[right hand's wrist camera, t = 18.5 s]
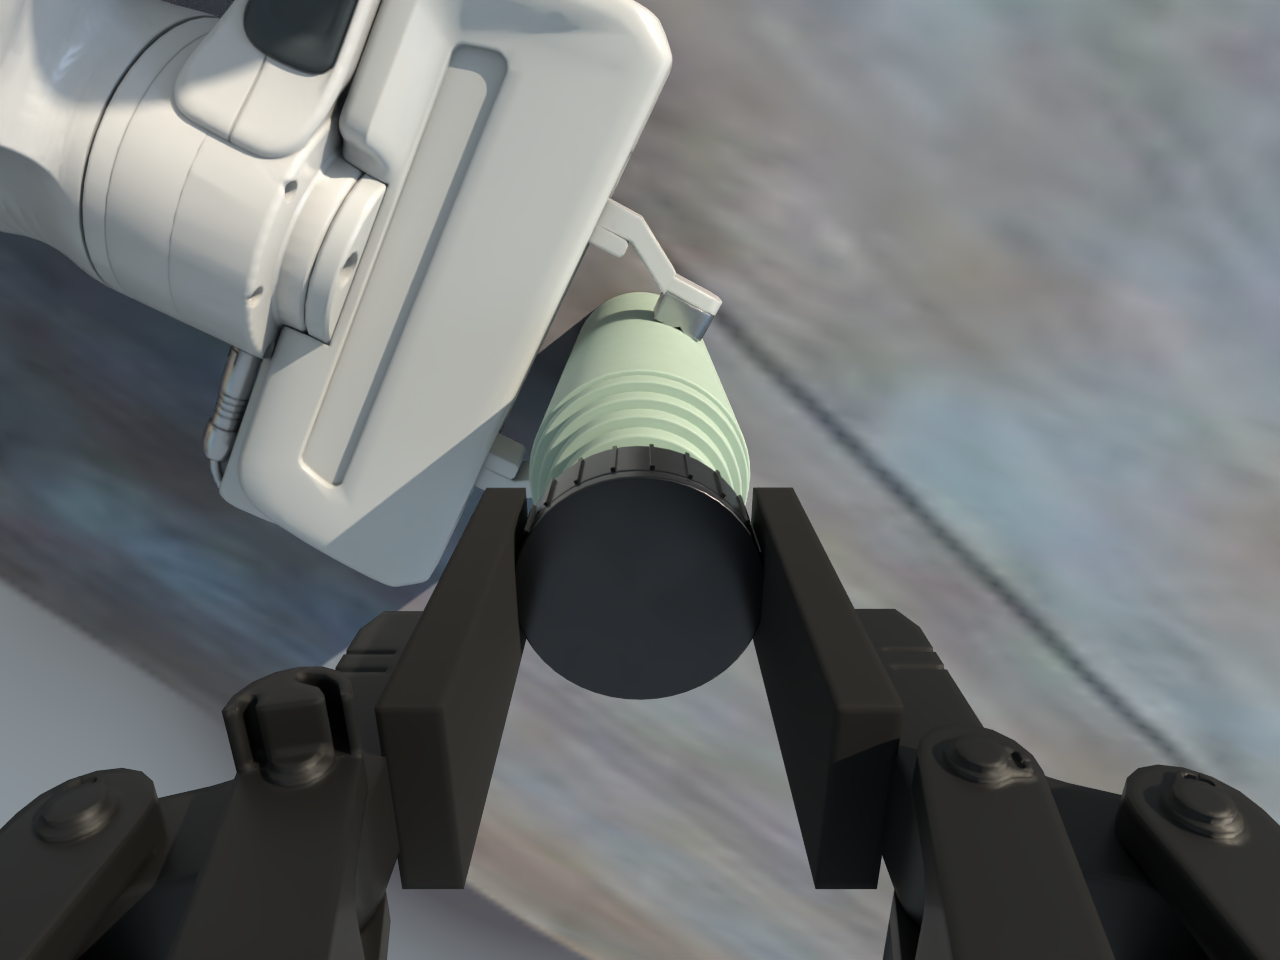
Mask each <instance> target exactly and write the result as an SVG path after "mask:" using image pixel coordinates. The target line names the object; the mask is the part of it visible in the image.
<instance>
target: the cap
mask: <svg viewBox="0 0 1280 960" xmlns="http://www.w3.org/2000/svg"><path fill="white" fill-rule="evenodd" d="M750 523H751V522H750V519H749V516H748V513H747V510H746V507H745V504H744V501H743V498H742V496H741V495H738V496H737V494H736V493H735V492H734V490H733V489H732V488H731V486H730V485H729V484H728V483H727V482H726V481H725V480H724V479H723V478H722V477H721V474H720V472H719V471H718V470H716V471H714V470H712V469H711V468H710V467H708V466H707V465H705V464H703V463H702V462H700V461H698V460H696V459H694V458H692V457H690V454H689V453H687V452H685V454H683V453H680V452H676V451H673V450H670V449H665V448H659V447H654V444H649V446H629V447H620V448H617V446H613V447H612V449H610V450H606V451H603V452H600V453H597V454H594V455H591V456H589V457H587V458H585V459H583V458H582V457H581V458H579V459H578V462H577V463H576V464H574V465H573V466H571V467H570V468H568V469H567V470H565V471H564V472H563V473H562V474H561V475H559V476H558V477H557V478H556V479H555V478H552V479H551V480H550V483H549V486H548V488H547V489H546V490H545V491H544V493H543V494H542V496H541V498H540V499H539V501H538V502H537V504H536V506H535V505H532V507H531V510H530V513H529V515H528V518H527V521H526V524H525V527H524V530H523V534H524V535H525V536H524V539H523V542H522V545H521V548H520V551H519V554H518V557H517V561H516V564H515V582H516V596H517V611H518V621H519V624H520V626H521V628H522V630H523V633H524V635H525V637H526V638H527V640H528V642H529V643H530V645H531V646H532V648H533V649H534V650H535V652H536V653H537V654H538V655H539V656H540V657H541V659H542V660H543V661H544V662H545V663H546V664H547V665H549V666H550V667H551V668H552V669H553V670H554V671H555V672H557V673H558V674H560V675H561V676H563V677H564V678H566V679H567V680H569V681H571V682H572V683H574V684H576V685H578V686H580V687H582V688H585V689H587V690H590V691H592V692H595V693H599V694H602V695H606V696H610V697H616V698H623V699H639V700H643V699H657V698H663V697H668V696H673V695H677V694H680V693H684V692H687V691H689V690H692V689H694V688H696V687H699V686H701V685H703V684H705V683H707V682H708V681H710V680H712V679H714V678H715V677H717V676H718V675H719V674H721V673H722V672H723V671H725V670H726V669H727V668H728V667H729V666H730V665H732V664H733V663H734V662H735V661H736V660H737V659H738V658H739V656H740V655H741V654H742V653H743V652H744V650H745V649H746V648H747V646H748V645H749V643H750V642H751V640H752V638H753V637H754V635H755V633H756V631H757V628H758V626H759V624H760V622H761V612H762V597H763V582H764V563H763V560H762V557H761V549H760V546H759V543H758V540H757V537H756V534H755V531H754V528H753V525H751V524H750Z"/></svg>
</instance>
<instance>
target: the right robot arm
mask: <svg viewBox="0 0 1280 960" xmlns="http://www.w3.org/2000/svg"><path fill="white" fill-rule="evenodd" d="M527 518H528V515H527V498H526V488H486V490H485V491H484V493H483V495H482V497H481V499H480V501H479V503H478V505H477V507H476V509H475V511H474V513H473V515H472V517H471V519H470V521H469V523H468V525H467V527H466V529H465V531H464V533H463V535H462V537H461V539H460V540H459V542H458V544H457V546H456V548H455V550H454V552H453V554H452V556H451V558H450V560H449V562H448V564H447V566H446V568H445V570H444V572H443V574H442V576H441V578H440V580H439V582H438V584H437V586H436V588H435V590H434V591H433V593H432V595H431V597H430V599H429V601H428V603H427V605H426V607H425V609H424V611H384V612H383V613H381V614H380V615H379V616H377V617H376V618H375V619H373V620H372V621H371V622H369V623H368V624H366V625H365V626H364V627H362V628H361V629H360V630H359V631H358V633H357V635H356V636H355V638H354V639H353V641H352V643H351V644H350V646H349V647H348V649H347V653H346V655H343V657H342V658H341V660H340V661H339V663H338V665H337V666H336V670H333V669H330V668H326V667H297V668H293V669H288V670H284V671H279V672H275V673H273V674H271V675H268V676H266V677H264V678H261V679H259V680H257V681H254V682H252V683H251V684H249V685H248V686H246V687H245V688H244V689H242V690H241V691H239V692H238V693H237V694H235V695H234V696H233V697H232V698H231V700H230V701H229V702H228V703H227V705H226V706H225V707H224V709H223V710H222V714H223V718H224V722H225V726H226V730H227V734H228V738H229V742H230V746H231V750H232V755H233V759H234V763H235V767H236V771H237V773H236V776H235V778H234V779H233V780H230V781H227V782H224V783H220V784H217V785H213V786H210V787H205V788H201V789H197V790H192V791H188V792H184V793H179V794H175V795H170V796H166V797H161V798H158V797H157V794H156V790H155V787H154V784H153V781H152V780H151V779H150V778H149V777H147V776H146V775H145V774H144V773H143V772H142V771H136V770H131V769H125V768H118V769H109V770H100V771H95V772H92V773H89V774H86V775H83V776H79V777H76V778H73V779H70V780H68V781H66V782H64V783H62V784H60V785H58V786H56V787H54V788H52V789H50V790H49V791H47V792H45V793H43V794H41V795H39V796H38V797H37V798H36V799H34V800H33V801H32V802H30V803H29V804H28V805H27V806H25V807H24V808H23V809H21V810H20V811H19V812H18V813H16V814H15V815H14V816H13V817H12V818H11V819H10V820H9V821H8V822H7V823H6V824H5V825H4V826H3V827H2V828H1V829H0V960H387V952H388V942H389V931H390V914H389V907H388V901H387V895H386V887H387V885H388V882H389V879H390V876H391V874H392V871H393V868H394V865H395V863H396V860H397V858H398V864H399V870H400V877H401V883H402V889H464V885H465V881H466V877H467V873H468V869H469V865H470V861H471V857H472V853H473V849H474V845H475V841H476V837H477V833H478V829H479V825H480V821H481V817H482V813H483V809H484V805H485V801H486V797H487V793H488V789H489V785H490V781H491V777H492V773H493V769H494V765H495V761H496V757H497V753H498V749H499V745H500V741H501V737H502V733H503V729H504V725H505V721H506V717H507V713H508V709H509V705H510V701H511V697H512V693H513V690H514V686H515V682H516V678H517V674H518V670H519V666H520V662H521V658H522V654H523V650H524V646H525V642H526V637H525V635H524V633H523V630H522V628H521V626H520V624H519V621H518V611H517V596H516V582H515V564H516V561H517V557H518V554H519V551H520V548H521V545H522V542H523V539H524V536H525V535H524V534H523V530H524V527H525V524H526V521H527ZM751 525H753V528H754V531H755V534H756V537H757V540H758V543H759V546H760V549H761V557H762V560H763V563H764V582H763V597H762V612H761V622H760V624H759V626H758V628H757V631H756V633H755V635H754V637H753V641H754V645H755V649H756V653H757V657H758V661H759V665H760V669H761V673H762V677H763V681H764V685H765V689H766V693H767V697H768V701H769V705H770V709H771V713H772V717H773V721H774V725H775V729H776V733H777V737H778V741H779V745H780V749H781V753H782V757H783V761H784V765H785V769H786V773H787V777H788V781H789V785H790V789H791V793H792V797H793V801H794V805H795V809H796V813H797V817H798V821H799V825H800V829H801V833H802V837H803V841H804V845H805V849H806V853H807V857H808V861H809V865H810V869H811V873H812V877H813V881H814V885H815V889H877V884H878V878H879V871H880V865H881V858H882V856H883V859H884V861H885V864H886V867H887V870H888V872H889V875H890V878H891V881H892V883H893V886H894V895H893V901H892V907H891V913H890V919H889V925H888V931H887V937H886V943H885V949H884V956H883V960H1280V825H1279V824H1277V823H1276V822H1275V821H1274V820H1273V819H1272V818H1271V817H1270V816H1269V815H1268V814H1267V813H1266V812H1265V811H1264V810H1263V809H1262V808H1261V807H1259V806H1258V805H1257V804H1255V803H1254V802H1253V801H1251V800H1250V799H1249V798H1248V797H1246V796H1245V795H1244V794H1242V793H1241V792H1240V791H1238V790H1236V789H1234V788H1232V787H1230V786H1228V785H1227V784H1225V783H1223V782H1221V781H1219V780H1217V779H1215V778H1213V777H1211V776H1208V775H1205V774H1202V773H1198V772H1196V771H1192V770H1189V769H1186V768H1182V767H1174V766H1165V765H1153V766H1148V767H1142V768H1138V769H1137V770H1135V771H1134V772H1133V773H1132V774H1131V775H1130V776H1129V777H1128V778H1127V780H1126V783H1125V786H1124V790H1123V793H1122V795H1119V794H1115V793H1110V792H1106V791H1101V790H1097V789H1092V788H1088V787H1084V786H1079V785H1075V784H1070V783H1066V782H1063V781H1060V780H1056V779H1053V778H1049V777H1047V776H1045V775H1044V772H1043V770H1042V769H1041V767H1040V766H1039V764H1038V763H1037V761H1036V760H1035V758H1034V757H1033V755H1032V754H1031V753H1029V752H1028V751H1027V750H1026V749H1024V748H1023V747H1022V746H1021V745H1019V744H1018V743H1017V742H1016V741H1014V740H1012V739H1010V738H1008V737H1006V736H1004V735H1002V734H1000V733H998V732H996V731H994V730H991V729H987V728H984V727H983V726H982V724H981V723H980V721H979V719H978V718H977V716H976V715H975V713H974V712H973V710H972V708H971V707H970V705H969V704H968V702H967V701H966V699H965V697H964V696H963V694H962V693H961V691H960V690H959V688H958V686H957V685H956V683H955V682H954V680H953V679H952V677H951V675H950V674H949V672H948V671H947V670H944V664H943V663H942V661H941V660H940V658H939V657H938V655H937V653H936V652H933V647H932V646H931V644H930V643H929V641H928V639H927V638H926V636H925V635H924V633H923V632H922V630H921V628H920V627H919V626H918V625H916V624H915V623H913V622H912V621H911V620H909V619H908V618H907V617H905V616H904V615H902V614H901V613H900V612H898V611H897V610H896V609H854V607H853V605H852V603H851V601H850V599H849V597H848V595H847V593H846V591H845V589H844V587H843V585H842V584H841V582H840V580H839V578H838V576H837V574H836V572H835V570H834V568H833V566H832V564H831V562H830V560H829V558H828V556H827V554H826V552H825V550H824V548H823V546H822V544H821V542H820V540H819V538H818V536H817V534H816V532H815V531H814V529H813V527H812V525H811V523H810V521H809V519H808V517H807V515H806V513H805V511H804V509H803V507H802V505H801V503H800V501H799V499H798V497H797V495H796V493H795V491H794V489H793V488H753V500H752V517H751Z"/></svg>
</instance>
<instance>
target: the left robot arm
mask: <svg viewBox="0 0 1280 960" xmlns="http://www.w3.org/2000/svg"><path fill="white" fill-rule="evenodd" d="M671 66H672V54H671V50H670V47H669V44H668V40H667V37H666V35H665V32H664V30H663V27H662V25H661V23H660V21H659V20H658V18H657V17H656V16H655V15H654V14H653V13H652V12H651V11H649V10H648V9H647V8H645V7H644V6H642V5H640V4H639V3H637V2H635V1H634V0H234V2H233V3H232V4H231V6H230V7H229V8H228V10H227V11H226V12H225V13H224V15H223V16H222V17H221V18H219V17H217V16H214V15H211V14H208V13H204V12H201V11H197V10H193V9H190V8H186V7H182V6H178V5H174V4H172V3H169V2H166V1H163V0H0V231H1V232H6V233H11V234H17V235H22V236H27V237H30V238H33V239H36V240H39V241H42V242H44V243H46V244H48V245H50V246H52V247H54V248H55V249H57V250H59V251H60V252H62V253H63V254H64V255H66V256H67V257H68V258H70V259H71V260H72V261H73V262H74V263H75V264H76V265H77V266H79V267H80V268H81V269H82V270H83V271H85V272H86V273H87V274H89V275H90V276H91V277H93V278H94V279H96V280H97V281H99V282H101V283H102V284H104V285H106V286H107V287H109V288H111V289H113V290H115V291H118V292H120V293H122V294H124V295H126V296H128V297H130V298H133V299H135V300H137V301H139V302H141V303H143V304H145V305H147V306H149V307H152V308H154V309H156V310H158V311H160V312H162V313H164V314H167V315H169V316H171V317H173V318H175V319H177V320H179V321H181V322H184V323H186V324H188V325H190V326H192V327H195V328H197V329H199V330H201V331H203V332H205V333H207V334H209V335H211V336H214V337H216V338H218V339H220V340H222V341H224V342H226V343H229V344H231V345H232V346H231V348H230V351H229V354H228V359H227V362H226V365H225V368H224V371H223V374H222V378H221V382H220V386H219V393H218V399H217V403H216V406H215V410H214V413H213V416H212V417H211V418H210V419H209V421H208V423H207V425H206V427H205V430H204V433H203V438H202V454H203V455H204V456H205V457H207V458H208V459H209V466H210V472H211V475H212V478H213V480H214V482H215V484H216V486H217V487H218V489H219V492H220V495H221V497H222V498H224V499H225V500H226V501H227V502H228V503H230V504H231V505H233V506H235V507H236V508H238V509H241V510H243V511H245V512H248V513H250V514H252V515H255V516H257V517H259V518H261V519H264V520H266V521H268V522H271V523H274V524H277V525H279V526H280V527H282V528H283V529H285V530H286V531H288V532H290V533H291V534H293V535H294V536H296V537H298V538H299V539H301V540H302V541H304V542H306V543H307V544H309V545H311V546H312V547H314V548H316V549H317V550H319V551H321V552H323V553H324V554H326V555H328V556H330V557H332V558H333V559H335V560H337V561H339V562H341V563H342V564H344V565H346V566H348V567H350V568H352V569H354V570H356V571H358V572H360V573H362V574H363V575H365V576H368V577H370V578H372V579H374V580H376V581H378V582H381V583H383V584H385V585H389V586H393V587H398V586H405V585H411V584H417V583H422V582H425V581H427V580H428V579H429V578H430V576H431V575H432V573H433V571H434V570H435V568H436V566H437V565H438V563H439V561H440V559H441V557H442V555H443V553H444V551H445V549H446V547H447V545H448V543H449V541H450V538H451V536H452V534H453V532H454V530H455V528H456V526H457V524H458V521H459V519H460V517H461V515H462V513H463V511H464V509H465V507H466V504H467V502H468V500H469V498H470V496H471V494H472V492H473V490H474V488H475V487H478V488H480V489H482V490H484V491H485V490H486V488H526V498H532V494H531V488H530V481H529V464H530V461H522V460H523V458H524V456H525V453H526V451H527V449H526V446H524V445H522V444H520V443H518V442H516V441H514V440H512V439H510V438H508V437H506V436H504V435H502V434H500V432H501V430H502V428H503V426H504V424H505V422H506V420H507V418H508V415H509V413H510V411H511V409H512V407H513V405H514V403H515V401H516V398H517V396H518V394H519V392H520V390H521V388H522V386H523V384H524V381H525V379H526V377H527V375H528V373H529V371H530V369H531V367H532V364H533V362H534V360H535V358H536V356H537V354H538V352H539V350H540V347H541V345H542V343H543V341H544V339H545V337H546V335H547V333H548V331H549V328H550V326H551V324H552V322H553V320H554V318H555V316H556V314H557V311H558V309H559V307H560V305H561V303H562V301H563V299H564V297H565V294H566V292H567V290H568V288H569V286H570V284H571V282H572V280H573V277H574V275H575V273H576V271H577V269H578V267H579V265H580V263H581V260H582V258H583V256H584V254H585V252H586V250H587V248H588V246H589V244H590V243H591V244H593V245H595V246H596V247H598V248H600V249H602V250H604V251H606V252H608V253H610V254H612V255H614V256H616V257H618V258H619V257H622V256H623V255H624V253H625V251H626V249H627V247H628V244H629V242H631V243H632V245H633V246H634V248H635V250H636V251H637V253H638V254H639V256H640V258H641V259H642V261H643V262H644V264H645V265H646V267H647V269H648V270H649V272H650V273H651V275H652V277H653V278H654V280H655V281H656V283H657V285H658V286H659V288H660V289H661V291H662V293H661V295H660V297H659V299H658V301H657V303H656V305H655V307H654V309H653V313H654V315H653V317H654V319H656V320H658V321H660V322H662V323H663V324H665V325H668V326H671V327H673V328H674V327H680V328H681V330H682V332H683V333H684V334H686V335H687V336H689V337H690V338H692V339H694V340H697V341H701V339H702V338H703V336H704V334H705V332H706V331H707V329H708V327H709V325H710V324H711V322H712V320H713V318H714V317H715V314H716V313H717V311H718V309H719V307H720V305H721V304H722V301H721V299H720V298H719V297H717V296H716V295H714V294H713V293H711V292H710V291H708V290H706V289H704V288H702V287H701V286H699V285H697V284H695V283H693V282H691V281H689V280H688V279H686V278H684V277H682V276H680V275H678V274H676V272H675V270H674V267H673V266H672V264H671V262H670V261H669V259H668V258H667V256H666V254H665V253H664V251H663V249H662V248H661V246H660V244H659V243H658V241H657V240H656V238H655V236H654V235H653V233H652V231H651V230H650V228H649V226H648V225H647V223H646V222H645V220H644V218H643V217H642V216H641V215H639V214H638V213H636V212H634V211H632V210H630V209H628V208H627V207H625V206H623V205H621V204H619V203H618V202H616V201H614V200H612V199H611V197H612V195H613V193H614V190H615V188H616V186H617V184H618V182H619V180H620V178H621V176H622V173H623V171H624V169H625V167H626V165H627V163H628V161H629V159H630V157H631V154H632V152H633V150H634V148H635V146H636V144H637V142H638V140H639V137H640V135H641V133H642V131H643V129H644V127H645V125H646V123H647V120H648V118H649V116H650V114H651V112H652V110H653V108H654V106H655V103H656V101H657V99H658V97H659V95H660V93H661V91H662V89H663V86H664V84H665V82H666V80H667V78H668V76H669V73H670V71H671ZM228 460H229V461H228ZM224 461H228V464H227V467H226V470H225V473H224V471H223V466H222V462H224Z"/></svg>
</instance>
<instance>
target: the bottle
mask: <svg viewBox="0 0 1280 960" xmlns="http://www.w3.org/2000/svg"><path fill="white" fill-rule="evenodd" d="M659 297H660V295H657V294H653V293H647V292H633V293H627V294H622V295H619V296H616V297H614V298H611V299H610V300H608V301H606V302H604V303H603V304H602V305H600V306H599V307H598V308H596V309H595V310H594V311H593V312H592V313H591V315H590V316H589V317H588V318H587V320H586V321H585V323H584V324H583V326H582V328H581V330H580V333H579V335H578V337H577V340H576V342H575V345H574V347H573V349H572V352H571V354H570V356H569V359H568V361H567V364H566V366H565V368H564V371H563V373H562V376H561V378H560V380H559V383H558V385H557V387H556V390H555V392H554V395H553V397H552V399H551V402H550V404H549V407H548V409H547V411H546V414H545V416H544V418H543V421H542V423H541V426H540V428H539V430H538V433H537V435H536V438H535V440H534V444H533V447H532V451H531V456H530V464H529V481H530V488H531V494H532V500H533V504H534V505H535V506H536V504H537V502H538V501H539V499H540V498H541V496H542V494H543V493H544V491H545V490H546V489H547V488H548V486H549V483H550V480H551V479H552V478H555V479H556V478H557V477H558V476H559V475H561V474H562V473H563V472H564V471H565V470H567V469H568V468H570V467H571V466H573V465H574V464H576V463H577V462H578V459H579V458H581V457H582V458H583V459H585V458H587V457H589V456H591V455H594V454H597V453H600V452H603V451H606V450H610V449H612V447H613V446H617V448H620V447H629V446H649V444H654V447H659V448H665V449H670V450H673V451H676V452H680V453H683V454H685V452H687V453H689V454H690V457H692V458H694V459H696V460H698V461H700V462H702V463H703V464H705V465H707V466H708V467H710V468H711V469H712V470H714V471H716V470H718V471H719V472H720V474H721V477H722V478H723V479H724V480H725V481H726V482H727V483H728V484H729V485H730V486H731V488H732V489H733V490H734V492H735V493H736V494H737V496H738V495H741V496H742V498H743V501H744V504H745V505H746V501H747V495H748V490H749V481H750V462H749V456H748V450H747V446H746V443H745V440H744V437H743V435H742V432H741V430H740V427H739V425H738V423H737V420H736V418H735V415H734V413H733V411H732V408H731V406H730V404H729V401H728V399H727V396H726V394H725V392H724V389H723V387H722V384H721V382H720V380H719V377H718V375H717V373H716V370H715V368H714V365H713V363H712V361H711V358H710V356H709V353H708V351H707V349H706V346H705V344H704V342H703V339H701V341H697V340H694V339H692V338H690V337H689V336H687V335H686V334H684V333H683V332H682V330H681V328H680V327H674V328H673V327H671V326H668V325H665V324H663V323H662V322H660V321H658V320H656V319H654V317H653V315H654V313H653V309H654V307H655V305H656V303H657V301H658V299H659Z"/></svg>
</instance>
